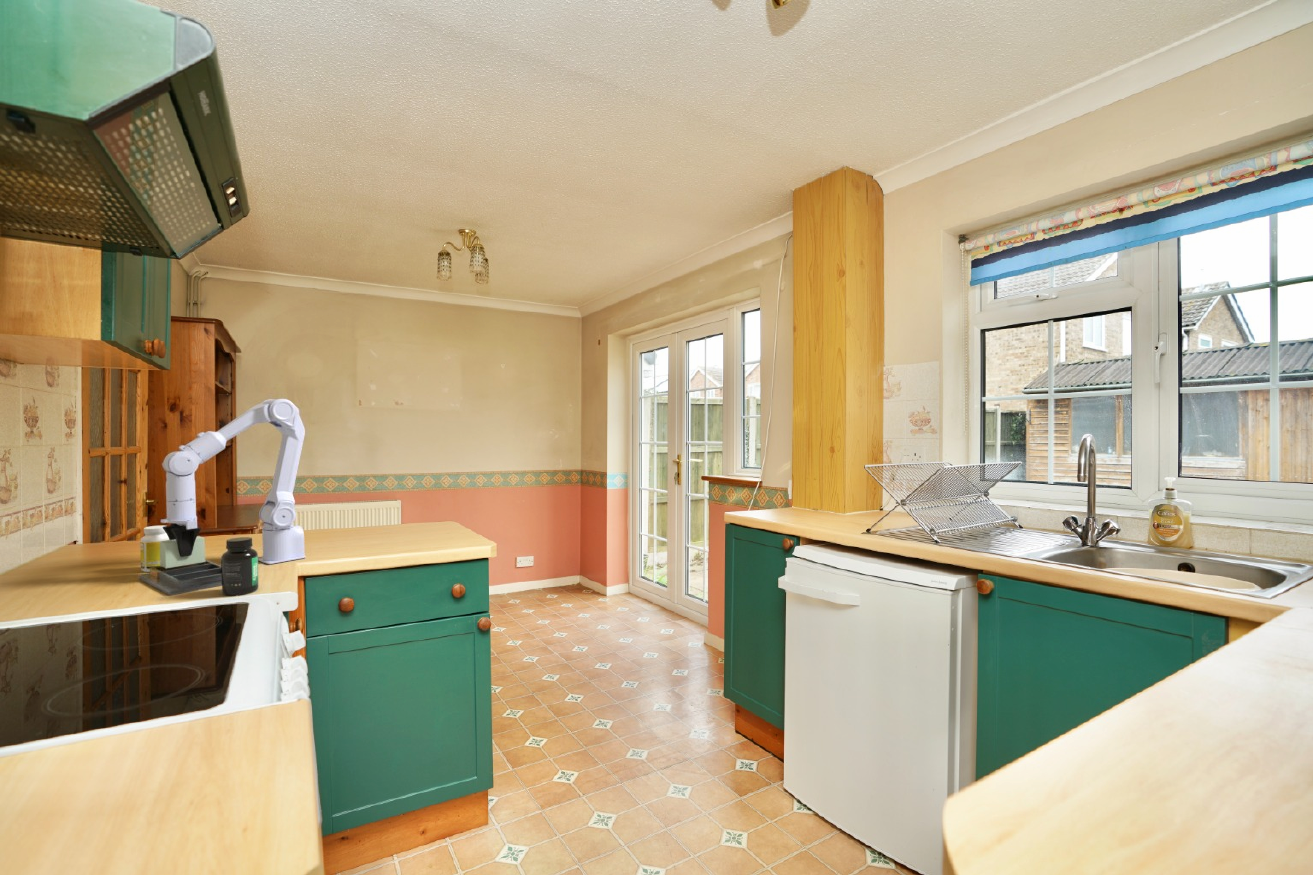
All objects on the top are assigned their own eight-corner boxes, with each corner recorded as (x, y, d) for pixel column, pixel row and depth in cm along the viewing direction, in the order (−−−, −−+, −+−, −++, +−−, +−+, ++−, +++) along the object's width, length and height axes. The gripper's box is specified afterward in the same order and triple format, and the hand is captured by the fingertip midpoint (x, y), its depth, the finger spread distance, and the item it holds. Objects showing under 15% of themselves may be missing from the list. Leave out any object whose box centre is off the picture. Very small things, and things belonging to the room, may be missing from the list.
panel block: (199, 559, 155) (198, 536, 155) (205, 561, 153) (204, 538, 152) (160, 565, 148) (159, 541, 148) (165, 568, 146) (165, 543, 146)
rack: (212, 566, 159) (212, 557, 159) (246, 580, 146) (246, 570, 146) (139, 579, 147) (138, 568, 147) (169, 595, 134) (169, 584, 134)
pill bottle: (178, 566, 159) (177, 524, 159) (156, 572, 153) (155, 529, 152) (156, 566, 160) (155, 524, 159) (134, 572, 153) (133, 528, 153)
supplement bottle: (264, 590, 139) (263, 537, 138) (232, 597, 133) (230, 543, 132) (248, 585, 142) (247, 534, 141) (215, 593, 136) (214, 540, 135)
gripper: (151, 499, 151) (152, 553, 151) (171, 504, 142) (172, 562, 143) (185, 496, 156) (187, 548, 157) (206, 501, 148) (208, 556, 149)
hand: (182, 554), depth 150 cm, fingers closed on panel block, 4 cm apart
